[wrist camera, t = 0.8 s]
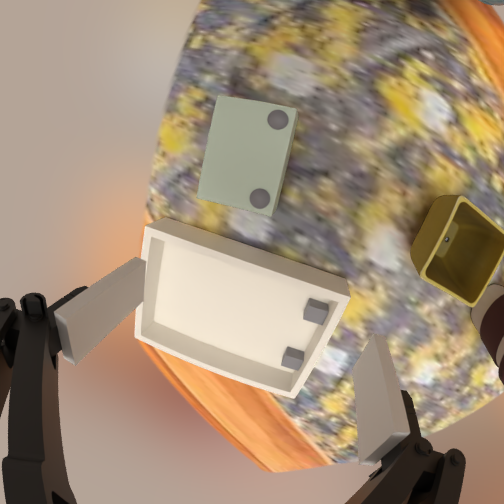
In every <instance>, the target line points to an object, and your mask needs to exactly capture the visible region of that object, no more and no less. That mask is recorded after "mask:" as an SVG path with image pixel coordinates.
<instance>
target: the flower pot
mask: <svg viewBox="0 0 504 504" xmlns="http://www.w3.org/2000/svg"><path fill="white" fill-rule="evenodd" d="M446 237H448V238H449V239H448V241H445V239H446ZM503 256H504V230H503V229H502V228H501V227H500V226H498V225H497V224H496V223H495V222H494V221H492V220H491V219H490V218H489V217H488V216H487V215H485V214H484V213H483V212H482V211H481V210H480V209H479V208H477V207H476V206H475V205H474V204H473V203H471V202H470V201H469V200H468V199H467V198H465V197H464V196H461V195H443V196H440V197H438V198H437V199H436V200H435V201H434V202H433V204H432V206H431V208H430V210H429V212H428V214H427V216H426V218H425V220H424V222H423V225H422V226H421V228H420V230H419V232H418V234H417V236H416V238H415V240H414V242H413V244H412V247H411V259H412V261H413V263H414V265H415V267H416V269H417V271H418V273H419V275H420V277H421V279H423V280H425V281H426V282H428V283H430V284H432V285H434V286H435V287H437V288H439V289H441V290H442V291H444V292H446V293H447V294H449V295H451V296H453V297H454V298H456V299H458V300H459V301H461V302H462V303H464V304H466V305H467V306H469V307H474V306H475V305H476V304H477V302H478V301H479V299H480V298H481V296H482V294H483V293H484V291H485V289H486V287H487V286H488V284H489V282H490V280H491V278H492V277H493V275H494V273H495V271H496V269H497V267H498V265H499V264H500V262H501V260H502V258H503Z"/></svg>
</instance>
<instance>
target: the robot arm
mask: <svg viewBox="0 0 504 504" xmlns="http://www.w3.org/2000/svg"><path fill="white" fill-rule="evenodd" d="M478 1H480V2H482V3H485V4H489V5H504V0H478ZM145 273H146V261H145V260H143V259H140V258H137V257H135V258H133V259H131V260H130V261H128V262H127V263H125V264H124V265H122V266H121V267H119V268H117V269H116V270H115V271H113V272H111V273H110V274H108V275H107V276H105V277H104V278H102V279H101V280H99V281H98V282H96V283H95V284H93V285H92V286H90V287H87V286H83V287H80V288H76V289H75V290H73V291H72V292H70V293H69V294H67V295H66V296H64V298H61V299H60V300H58V301H57V302H55V303H54V304H53V305H51V306H50V307H48V308H47V305H46V299H45V297H44V296H43V295H41V294H40V293H29V294H26V295H25V296H23V297H22V298H21V300H20V304H21V308H22V311H21V310H18V309H16V306H15V302H14V301H13V300H12V299H10V298H1V299H0V417H1V414H2V410H3V407H4V404H5V401H6V398H7V395H8V392H9V390H10V400H9V416H8V450H9V451H8V456H7V457H5V458H4V459H3V461H2V474H3V483H4V492H5V499H6V504H77V503H76V499H75V497H74V494H73V492H72V490H71V488H70V485H69V482H68V477H67V472H66V467H65V460H64V454H63V447H62V438H61V429H60V417H59V400H58V354H57V353H58V352H59V351H60V350H62V352H63V355H64V358H65V359H66V360H68V361H69V362H71V363H72V364H74V365H75V366H76V365H77V364H78V363H79V362H80V361H81V360H82V359H83V358H84V357H85V356H86V355H87V354H88V353H89V352H90V351H91V350H92V349H93V348H94V347H95V346H96V345H97V344H98V343H99V342H100V341H102V339H104V338H105V337H106V336H107V335H108V334H109V333H110V332H111V331H112V330H113V329H114V328H115V327H116V326H117V325H118V324H119V323H120V322H122V321H123V320H124V319H125V318H126V317H127V316H128V315H129V314H130V313H131V312H132V311H133V310H135V309H136V308H137V307H138V306H139V305H140V304H141V303H142V302H143V301H144V288H145ZM2 340H3V341H2ZM352 372H353V381H354V391H355V403H356V416H357V431H358V454H359V464H360V465H375V464H376V463H377V462H378V461H379V460H381V464H382V466H381V467H380V468H378V469H377V470H376V471H375V472H373V473H372V474H371V475H370V476H369V477H370V478H369V480H368V481H367V482H366V483H365V484H364V485H363V486H362V487H361V488H360V489H359V490H358V491H357V492H356V493H355V494H354V495H353V496H352V497H351V498H350V499H349V500H348V501H347V502H346V503H345V504H458V502H459V497H460V493H461V488H462V483H463V477H464V471H465V464H466V461H465V457H464V455H463V453H462V452H461V451H459V450H458V449H450V450H449V451H448V452H447V453H445V454H442V453H439V452H436V451H433V447H432V445H431V443H430V442H429V441H428V440H426V439H425V438H423V437H421V433H420V428H419V424H418V420H417V416H416V415H415V414H416V412H415V408H414V405H413V401H412V398H411V397H410V395H409V394H408V392H407V391H404V390H400V386H399V382H398V379H397V375H396V371H395V368H394V364H393V361H392V358H391V354H390V351H389V348H388V344H387V341H386V338H385V336H381V335H377V334H374V333H373V335H372V337H371V338H370V340H369V342H368V344H367V345H366V347H365V349H364V351H363V352H362V354H361V356H360V357H359V359H358V361H357V362H356V364H355V365H354V367H353V369H352ZM10 387H11V388H10Z"/></svg>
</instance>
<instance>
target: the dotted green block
mask: <svg viewBox="0 0 504 504" xmlns="http://www.w3.org/2000/svg"><path fill="white" fill-rule="evenodd" d="M298 118H299V116H298V111H297V109H295V108H291V107H286V106H282V105H277V104H271V103H266V102H261V101H255V100H249V99H242V98H235V97H228V96H220V95H218V96H217V100H216V104H215V109H214V113H213V117H212V122H211V126H210V131H209V136H208V140H207V145H206V150H205V155H204V160H203V165H202V170H201V176H200V181H199V187H198V192H197V198H198V199H202V200H206V201H211V202H215V203H219V204H223V205H227V206H231V207H235V208H239V209H243V210H247V211H251V212H255V213H259V214H262V215H266V216H270V217H272V215H273V214H274V212H275V211H276V209H277V206H278V202H279V198H280V193H281V189H282V185H283V181H284V177H285V173H286V169H287V164H288V160H289V156H290V152H291V148H292V143H293V139H294V135H295V131H296V126H297V122H298Z"/></svg>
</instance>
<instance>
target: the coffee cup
mask: <svg viewBox="0 0 504 504" xmlns="http://www.w3.org/2000/svg"><path fill="white" fill-rule="evenodd" d="M471 319H472V322H473V324H474V326H475V327H476V329H477V330H478V332H479V334H480V337H481V339H482V341H483V343H484V345H485V346H486V348H487V350H488V352H489V353H490V355H491V357H492V359H493V361H494V363H495V364H496V366H497V367H499V372H498V373H499V378H500V380H501V381H502V383H503V385H504V287H502V286H501V285H497V284H493V285H490V286H488V287H486V289H485V291H484V293H483V294H482V296H481V298H480V299H479V301H478V302H477V304H476V305H475V306H474V307H472V311H471Z"/></svg>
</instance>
